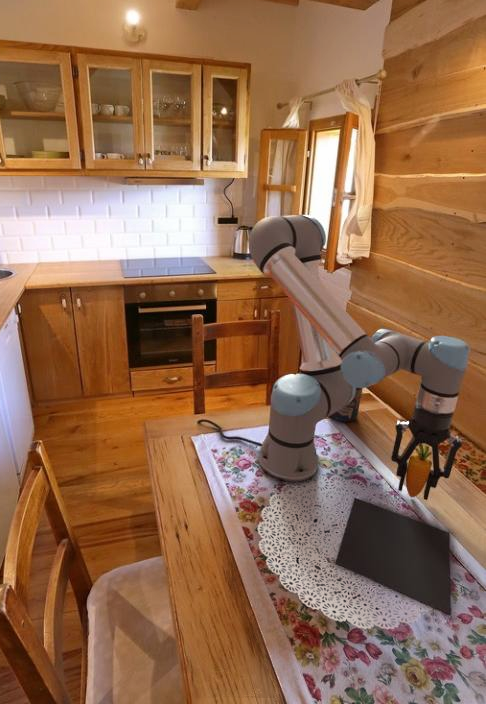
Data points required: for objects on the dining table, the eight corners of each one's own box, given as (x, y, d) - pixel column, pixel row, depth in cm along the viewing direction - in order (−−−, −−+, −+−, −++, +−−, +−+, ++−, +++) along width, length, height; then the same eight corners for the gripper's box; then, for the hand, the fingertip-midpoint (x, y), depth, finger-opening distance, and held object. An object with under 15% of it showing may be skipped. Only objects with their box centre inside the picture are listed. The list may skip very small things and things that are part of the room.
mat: (335, 563, 79) (335, 563, 79) (354, 497, 96) (354, 497, 96) (450, 615, 71) (450, 614, 71) (449, 532, 88) (449, 532, 88)
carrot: (425, 506, 94) (440, 453, 89) (402, 502, 95) (416, 449, 90) (419, 491, 99) (433, 439, 94) (398, 487, 99) (410, 436, 94)
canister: (327, 421, 126) (335, 369, 120) (325, 405, 135) (332, 356, 129) (359, 425, 124) (369, 373, 118) (354, 409, 133) (363, 359, 127)
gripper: (389, 402, 89) (371, 487, 97) (483, 427, 81) (455, 517, 89) (392, 388, 95) (375, 469, 103) (480, 409, 88) (454, 495, 96)
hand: (412, 491), depth 96 cm, fingers closed on carrot, 5 cm apart
